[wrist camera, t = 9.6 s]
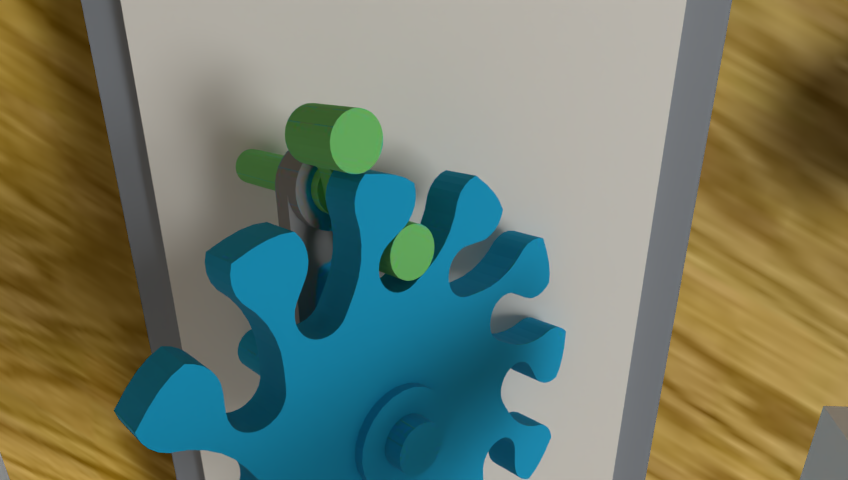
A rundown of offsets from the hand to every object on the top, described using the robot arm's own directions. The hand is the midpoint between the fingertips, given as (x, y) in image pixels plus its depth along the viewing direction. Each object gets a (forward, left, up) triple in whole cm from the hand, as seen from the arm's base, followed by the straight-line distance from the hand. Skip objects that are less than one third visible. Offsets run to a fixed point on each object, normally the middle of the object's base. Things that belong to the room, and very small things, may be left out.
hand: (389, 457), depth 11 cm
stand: (0, 0, -8) cm, 9 cm away
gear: (0, 0, -6) cm, 6 cm away
